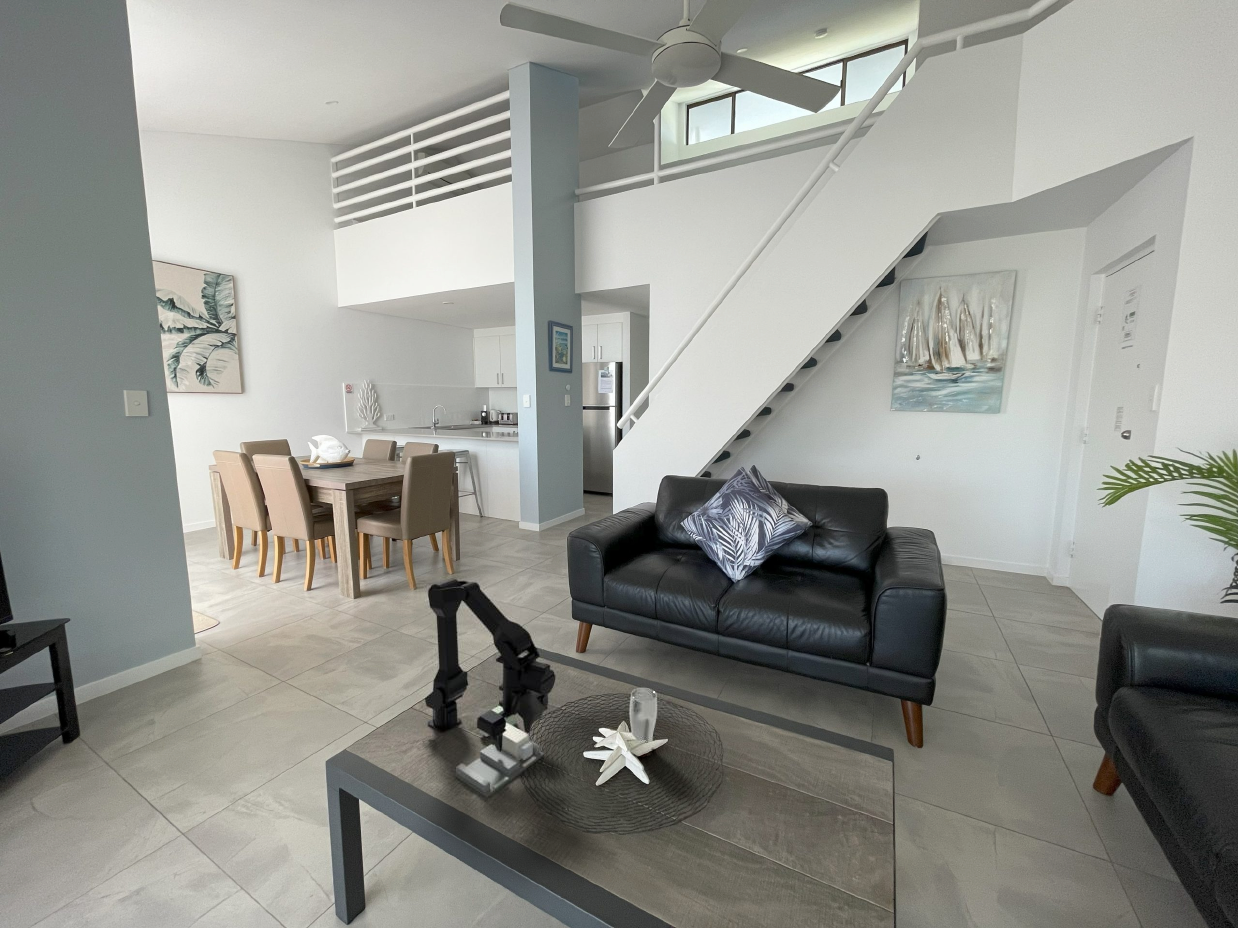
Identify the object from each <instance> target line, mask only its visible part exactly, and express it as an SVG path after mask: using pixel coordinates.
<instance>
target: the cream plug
mask: <svg viewBox="0 0 1238 928" xmlns="http://www.w3.org/2000/svg"><path fill="white" fill-rule="evenodd" d="M505 729H506V731H505V732H504V733H503V741H502V751H504V752H505V753H507V754H509V755H510V756H512V757H514V758H515V759H517V760H520V759H523V760H525V759H527V758H528V757H529V756H531V755H532V754H533V743H531V742H529V740H530V738H529V737H530V735H529V733H526V732H525V731H522V730H521V729H519V728H517V727H516V726H515V725H513V726H512V725H510V724H508V723H506V727H505ZM493 745H494V744H493ZM494 746H495V745H494Z"/></svg>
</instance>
